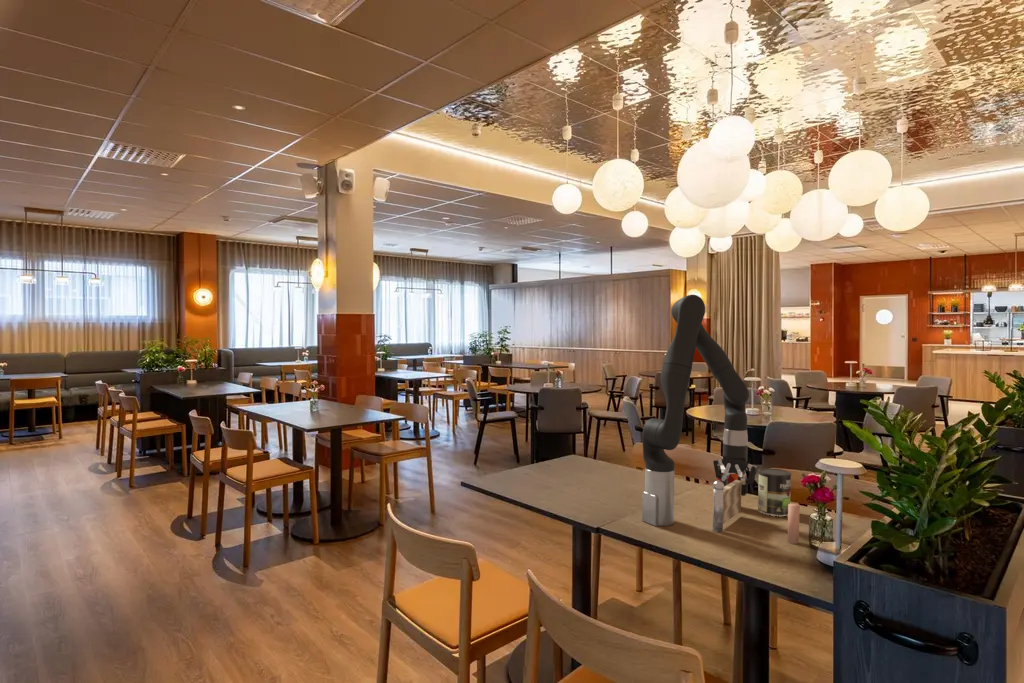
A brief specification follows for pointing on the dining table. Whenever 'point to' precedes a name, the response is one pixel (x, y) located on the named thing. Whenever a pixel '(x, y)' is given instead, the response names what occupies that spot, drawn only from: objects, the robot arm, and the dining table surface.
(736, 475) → the paper cup
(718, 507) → the hinge post
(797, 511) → the post
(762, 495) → the coffee can
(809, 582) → the dining table surface
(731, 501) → the light wood flat panel
